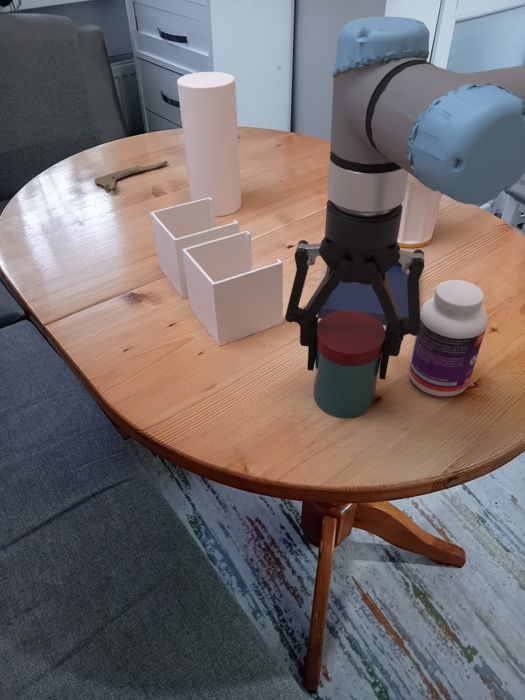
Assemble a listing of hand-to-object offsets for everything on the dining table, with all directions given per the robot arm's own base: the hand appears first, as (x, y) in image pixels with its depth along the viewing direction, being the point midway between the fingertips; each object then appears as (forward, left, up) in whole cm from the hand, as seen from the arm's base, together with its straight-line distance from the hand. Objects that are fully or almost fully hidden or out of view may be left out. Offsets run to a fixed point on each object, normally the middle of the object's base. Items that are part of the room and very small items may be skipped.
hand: (346, 367), depth 68 cm
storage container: (+20, +23, -5) cm, 31 cm away
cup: (+45, -8, -5) cm, 46 cm away
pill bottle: (+5, -12, -5) cm, 14 cm away
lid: (0, 0, +6) cm, 6 cm away
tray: (+25, -2, -5) cm, 26 cm away
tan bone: (+62, +54, -5) cm, 82 cm away
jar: (0, 0, -5) cm, 5 cm away
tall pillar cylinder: (+52, +32, -5) cm, 61 cm away
